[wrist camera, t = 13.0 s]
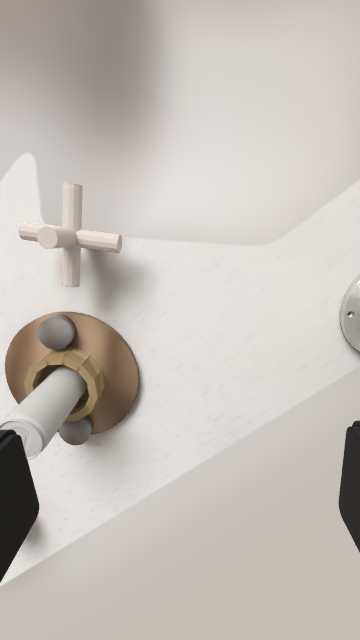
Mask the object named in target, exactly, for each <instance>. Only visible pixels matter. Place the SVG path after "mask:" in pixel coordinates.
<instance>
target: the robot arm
mask: <svg viewBox="0 0 360 640" xmlns="http://www.w3.org/2000/svg"><path fill="white" fill-rule="evenodd" d="M348 312H349V314H348ZM340 320H341V327H342V330H343V334H344V335H345V337H346V339H347V341H348V342H349V343H350V344H351V345H352V346H353V347H354V348H355V349H356V350H358V351H359V352H360V276H359V277H358V278H357V279H356V280H355V281H354V283H353V284H352V285H351V286H350V288H349V290H348V292H347V293H346V295H345V297H344V300H343V303H342V306H341V313H340ZM341 477H342V478H341V486H340V495H339V509H340V513H341V516H342V518H343V521H344V523H345V524H346V526H347V528H348V530H349V532H350V534H351V536H352V538H353V540H354V542H355V544H356V546H357V548H358V550H359V552H360V421H355V422H354V423H353V425H352V427H348V428H347V432H346V440H345V449H344V459H343V467H342V476H341ZM38 512H39V502H38V498H37V494H36V490H35V487H34V483H33V479H32V476H31V472H30V468H29V464H28V461H27V457H26V453H25V449H24V446H23V442H22V438H21V436H20V435H17V433H16V432H15V431H14V430H12V429H8V430H0V582H1V580H2V579H3V577H4V575H5V573H6V572H7V570H8V568H9V566H10V564H11V563H12V561H13V559H14V557H15V556H16V554H17V552H18V550H19V548H20V547H21V545H22V543H23V541H24V540H25V538H26V536H27V534H28V533H29V531H30V529H31V527H32V525H33V524H34V522H35V520H36V518H37V516H38Z"/></svg>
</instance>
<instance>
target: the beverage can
mask: <svg viewBox="0 0 360 640" xmlns="http://www.w3.org/2000/svg"><path fill="white" fill-rule="evenodd" d="M86 389H87V382H86V381H85V380H84V379H83V377H82V376H81V375H80V374H79V372H78V371H76V370H74V369H72V368H70V367H67V366H65V365H63V366H60V367H58V368H57V369H56V370H55V371H54V372H52V373H51V374H50V375H49V376H48V377H47V378H46V379H45V380H44V381H43V382H42V383H41V384H40V385H39V386H38V387H37V388H36V389H35V390H34V391H33V392H32V393H30V394H29V395H28V396H27V397H26V398H25V399H24V400H23V401H22V402H21V403H20V404H19V405H18V406H17V407H16V408H15V409H14V410H13V411H12V412H11V413H10V414H8V415H7V416H6V417H5V418H4V420H3V421H2V422H1V424H0V430H8V429H12V430H14V431H15V432H16V433H17V435H20V436H21V438H22V442H23V446H24V449H25V453H26V457H27V460H29V459H33V458H34V457H36V456H37V455H38V454H39V453H40V452H42V451H43V449H44V448H45V447H46V446H47V445H48V443H49V442H50V440H51V439H52V438H53V436H54V435H55V433H56V432H57V430H58V429H59V428H60V426H61V425H62V423H63V422H64V421H65V419H66V418H67V416H68V415H69V414H70V412H71V411H72V409H73V408H74V406H75V405H76V403H77V402H78V400H79V399H80V398H81V396H82V395H83V393H84V392H85V390H86Z"/></svg>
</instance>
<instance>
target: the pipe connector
mask: <svg viewBox="0 0 360 640" xmlns="http://www.w3.org/2000/svg"><path fill="white" fill-rule="evenodd" d="M81 217H82V185H78V184H73V183H66V182H63V203H62V227H61V226H54V225H47V224H40V223H32V222H25V221H23V222H21V223H20V225H19V235H20V237H21V239H24V240H30V241H37V242H39V244H40V245H41V246H42V247H44V248H47V249H51V248H61V247H62V282H61V285H63V286H66V287H78V286H79V284H80V252H81V248H87V249H94V250H101V251H108V252H116V253H119V252H120V250H121V246H122V237H121V235H117V234H111V233H103V232H96V231H93V230H91V229H82V228H81Z"/></svg>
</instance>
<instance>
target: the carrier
mask: <svg viewBox="0 0 360 640" xmlns="http://www.w3.org/2000/svg"><path fill="white" fill-rule="evenodd" d="M63 365H65V366H67V367H70V368H72V369H74V370H76V371H78V372H79V374H80V375H81V376H82V377H83V379H84V380H85V381H86V382H87V389H86V390H85V392H84V393H83V395H82V396H81V398H80V399H79V400H78V402H77V403H76V405H75V406H74V408H73V409H72V411H71V412H70V414H69V415H68V416H67V418H66V419H65V421H64V422H63V423H62V425H61V426H60V428H59V429H58V430H57V432H59V433H60V436H61V438H62V439H63V440H64V441H65V442H67V443H68V444H71V445H81V444H83V443H85V442H86V441H87V439H88V437H89V435H92V434H96V433H100V432H103V431H106V430H108V429H110V428H112V427H113V426H115V425H116V424H118V423H119V422H120V421H121V420H122V419H123V418H124V417H125V416H126V415H127V414H128V412H129V410H130V409H131V407H132V405H133V403H134V400H135V398H136V395H137V391H138V387H139V371H138V366H137V362H136V359H135V356H134V354H133V352H132V350H131V348H130V347H129V345H128V344H127V342H126V341H125V340H124V339H123V338H122V336H121V335H120V334H119V333H118V332H116V331H115V330H114V329H113V328H112V327H110V326H109V325H107V324H106V323H104V322H102V321H101V320H99V319H97V318H94V317H92V316H89V315H85V314H82V313H76V312H57V313H52V314H48V315H45V316H42V317H40V318H38V319H36V320H34V321H32V322H30V323H29V324H27V325H26V326H24V327H23V328H22V329H21V330H20V331H19V332H18V333H17V334H16V335H15V337H14V338H13V340H12V342H11V343H10V346H9V348H8V351H7V355H6V361H5V373H6V378H7V383H8V386H9V389H10V391H11V393H12V395H13V397H14V398H15V400H16V401H17V403H18V404H20V403H21V402H22V401H23V400H24V399H25V398H26V397H27V396H28V395H29V394H30V393H32V392H33V391H34V390H35V389H36V388H37V387H38V386H39V385H40V384H41V383H42V382H43V381H44V380H45V379H46V378H47V377H48V376H49V375H50V374H51V373H52V372H54V371H55V370H56V369H57V368H58V367H60V366H63Z"/></svg>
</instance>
